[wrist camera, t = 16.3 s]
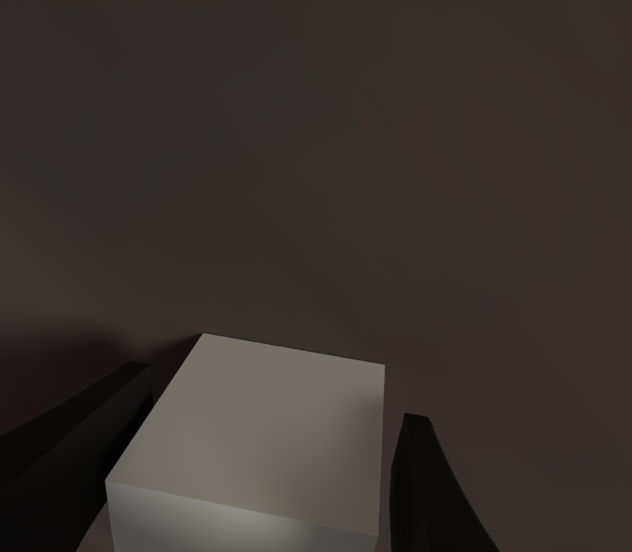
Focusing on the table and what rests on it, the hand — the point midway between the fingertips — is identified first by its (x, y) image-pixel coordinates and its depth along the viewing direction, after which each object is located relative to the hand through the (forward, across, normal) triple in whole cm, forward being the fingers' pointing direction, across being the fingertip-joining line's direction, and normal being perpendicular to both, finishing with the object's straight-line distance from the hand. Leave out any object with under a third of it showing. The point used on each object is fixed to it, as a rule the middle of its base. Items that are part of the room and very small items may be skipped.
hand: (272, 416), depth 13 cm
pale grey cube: (+3, 0, +3) cm, 4 cm away
